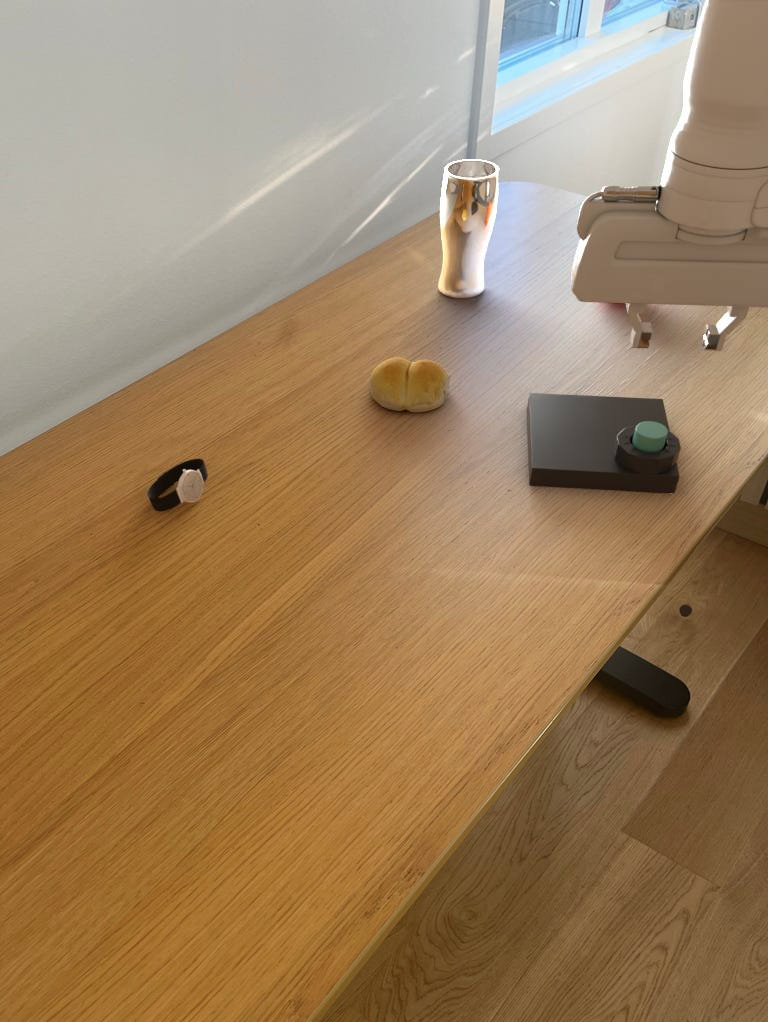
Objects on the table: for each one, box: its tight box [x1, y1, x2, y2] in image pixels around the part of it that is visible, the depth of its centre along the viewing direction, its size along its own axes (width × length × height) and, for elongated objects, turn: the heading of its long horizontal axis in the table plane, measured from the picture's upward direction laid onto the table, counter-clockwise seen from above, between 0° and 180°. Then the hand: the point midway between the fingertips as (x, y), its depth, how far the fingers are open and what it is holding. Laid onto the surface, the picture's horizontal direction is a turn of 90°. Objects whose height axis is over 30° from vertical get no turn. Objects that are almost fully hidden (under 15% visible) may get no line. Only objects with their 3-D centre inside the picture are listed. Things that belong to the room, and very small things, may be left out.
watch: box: [147, 458, 209, 512], centre depth 95 cm, size 8×5×4 cm, turn 147°
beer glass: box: [437, 159, 500, 299], centre depth 120 cm, size 7×7×15 cm
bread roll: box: [368, 356, 451, 413], centre depth 106 cm, size 8×9×4 cm
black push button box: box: [526, 392, 682, 495], centre depth 97 cm, size 14×14×4 cm
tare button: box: [632, 421, 668, 452], centre depth 92 cm, size 3×3×2 cm
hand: (674, 346), depth 85 cm, fingers open, 5 cm apart
